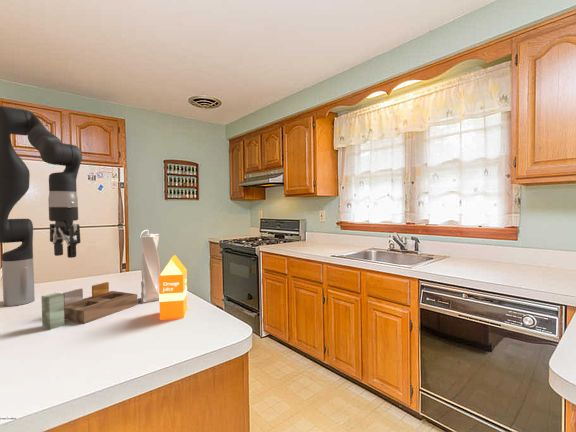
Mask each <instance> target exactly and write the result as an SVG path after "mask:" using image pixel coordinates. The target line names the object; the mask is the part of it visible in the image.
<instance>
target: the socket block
mask: <svg viewBox="0 0 576 432" xmlns="http://www.w3.org/2000/svg"><path fill="white" fill-rule="evenodd" d="M83 292H84V291H83V288H77V289H73V290H70V291H65V292H62V294H63V295H64V321H65V320H66V321H71V322H76V323H80V324H87V323H91V322H93V321H96V320H98V319H102V318H104V317H106V316H110V315H113V314H115V313H118V312H121V311H124V310H126V309H129V308H132V307H135V306H137V305H139V303H138V301H139V300H138V293H130V292H124V291H117V290H116V291H115V290H110V282H109V281H106V282H102V283H96V284H93V285H91V296H89V297H85V298H84V296H83V295H84V293H83Z"/></svg>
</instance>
